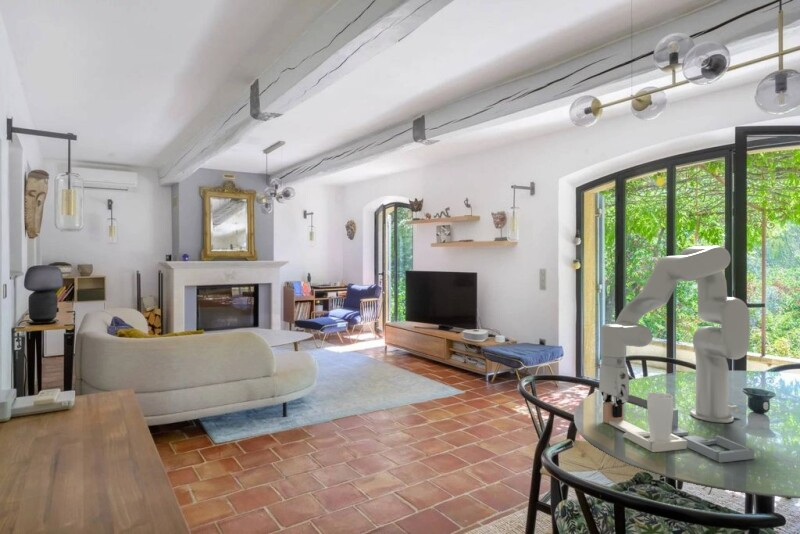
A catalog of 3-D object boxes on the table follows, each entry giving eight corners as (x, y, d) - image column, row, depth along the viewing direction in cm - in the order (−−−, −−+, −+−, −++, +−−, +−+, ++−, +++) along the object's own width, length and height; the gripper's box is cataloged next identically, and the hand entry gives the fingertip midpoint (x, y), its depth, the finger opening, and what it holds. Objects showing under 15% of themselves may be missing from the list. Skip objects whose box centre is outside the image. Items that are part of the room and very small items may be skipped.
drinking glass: (676, 451, 136) (676, 399, 136) (650, 449, 138) (650, 397, 138) (669, 442, 143) (669, 393, 143) (644, 440, 145) (644, 391, 144)
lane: (625, 419, 163) (625, 400, 163) (686, 448, 138) (686, 426, 138) (595, 421, 161) (595, 403, 161) (652, 452, 135) (652, 429, 135)
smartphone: (651, 408, 174) (617, 396, 189) (651, 411, 174) (617, 399, 189) (666, 406, 177) (631, 394, 192) (666, 409, 177) (631, 397, 192)
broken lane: (678, 426, 156) (679, 407, 156) (754, 458, 131) (754, 435, 131) (649, 429, 154) (649, 409, 154) (719, 462, 128) (720, 438, 128)
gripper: (640, 365, 153) (640, 422, 154) (607, 355, 170) (606, 407, 170) (620, 366, 152) (619, 424, 152) (588, 356, 168) (588, 408, 168)
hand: (612, 414), depth 161 cm, fingers open, 3 cm apart
